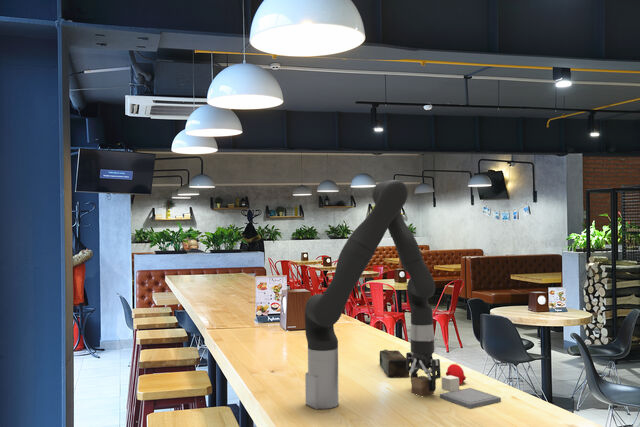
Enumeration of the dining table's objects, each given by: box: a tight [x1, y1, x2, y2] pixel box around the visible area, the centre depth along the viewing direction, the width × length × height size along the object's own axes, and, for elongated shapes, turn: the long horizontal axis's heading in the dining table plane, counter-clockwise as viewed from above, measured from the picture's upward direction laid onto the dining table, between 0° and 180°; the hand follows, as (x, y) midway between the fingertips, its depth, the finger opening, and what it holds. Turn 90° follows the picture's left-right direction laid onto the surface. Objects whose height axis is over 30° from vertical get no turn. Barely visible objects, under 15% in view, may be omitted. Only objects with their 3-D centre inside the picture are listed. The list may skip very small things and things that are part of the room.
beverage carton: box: [379, 349, 410, 378], centre depth 224 cm, size 8×19×7 cm, turn 4°
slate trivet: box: [439, 387, 502, 409], centre depth 187 cm, size 13×13×1 cm
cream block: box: [441, 375, 460, 392], centre depth 199 cm, size 4×4×4 cm
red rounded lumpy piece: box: [445, 363, 467, 386], centre depth 207 cm, size 8×6×6 cm
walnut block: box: [410, 375, 435, 397], centre depth 194 cm, size 5×5×5 cm
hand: (423, 388), depth 194 cm, fingers open, 8 cm apart
